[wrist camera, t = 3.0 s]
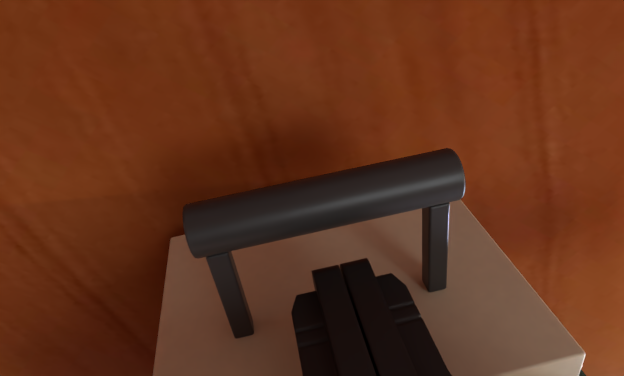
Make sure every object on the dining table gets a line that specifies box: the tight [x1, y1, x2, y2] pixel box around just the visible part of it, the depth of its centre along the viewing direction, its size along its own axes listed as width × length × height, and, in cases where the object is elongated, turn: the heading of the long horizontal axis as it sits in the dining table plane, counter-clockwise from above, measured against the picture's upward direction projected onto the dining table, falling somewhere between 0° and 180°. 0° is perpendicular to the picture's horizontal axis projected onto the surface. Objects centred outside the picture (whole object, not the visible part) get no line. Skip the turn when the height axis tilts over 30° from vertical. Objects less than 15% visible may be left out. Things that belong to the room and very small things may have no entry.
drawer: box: [153, 148, 585, 376], centre depth 17 cm, size 18×11×9 cm, turn 8°
